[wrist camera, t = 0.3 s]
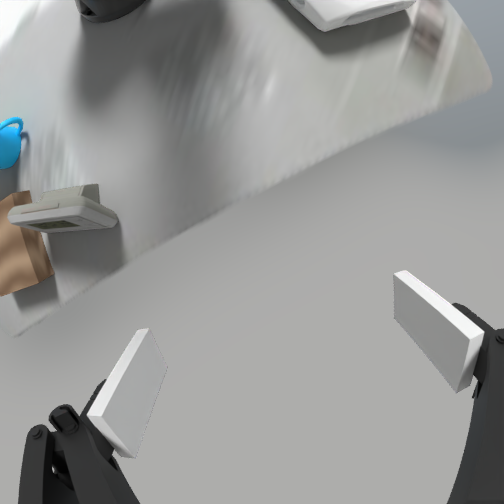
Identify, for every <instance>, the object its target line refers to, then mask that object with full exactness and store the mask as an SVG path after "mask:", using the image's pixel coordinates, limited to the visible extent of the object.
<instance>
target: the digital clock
mask: <svg viewBox="0 0 504 504" xmlns="http://www.w3.org/2000/svg"><path fill="white" fill-rule="evenodd" d="M7 218H8V220H9V222H10V224H13V225H16V226H20V227H24V228H28V229H32V230H36V231H40V232H44V233H54V232H66V231H78V230H91V229H105V228H113V227H114V226H115V225H116V223H117V222H118V218H117V215H116V214H115V213H114V211H112V210H110V209H108V208H106V207H104V206H102V205H100V202H99V188H98V184H90V185H83V186H76V187H70V188H65V189H59V190H53V191H48V192H44V193H43V194H42V195H41V199H40V201H39V202H36V203H30V204H25V205H20V206H15V207H13V208H12V209H11V210H10V211H9V213H8V216H7Z"/></svg>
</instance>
